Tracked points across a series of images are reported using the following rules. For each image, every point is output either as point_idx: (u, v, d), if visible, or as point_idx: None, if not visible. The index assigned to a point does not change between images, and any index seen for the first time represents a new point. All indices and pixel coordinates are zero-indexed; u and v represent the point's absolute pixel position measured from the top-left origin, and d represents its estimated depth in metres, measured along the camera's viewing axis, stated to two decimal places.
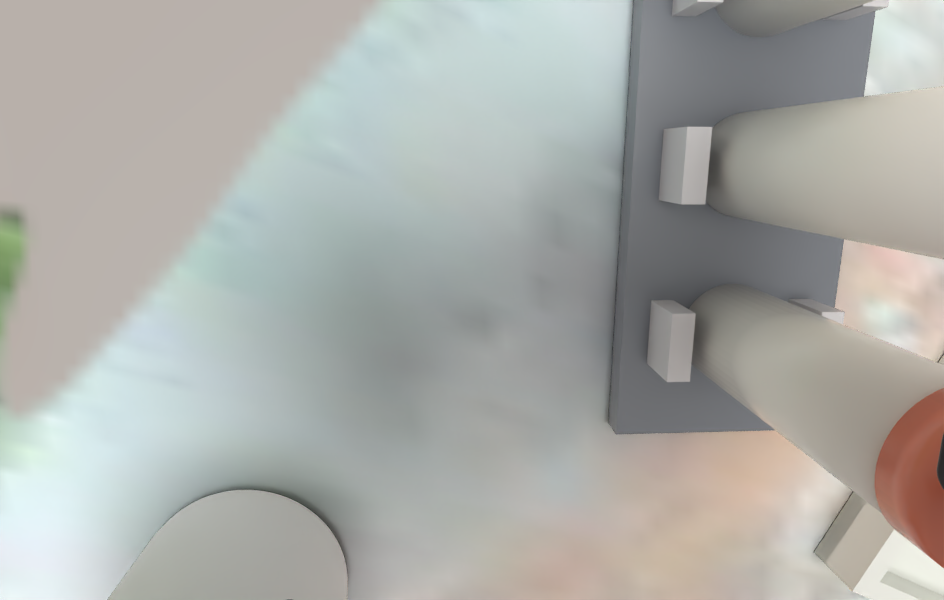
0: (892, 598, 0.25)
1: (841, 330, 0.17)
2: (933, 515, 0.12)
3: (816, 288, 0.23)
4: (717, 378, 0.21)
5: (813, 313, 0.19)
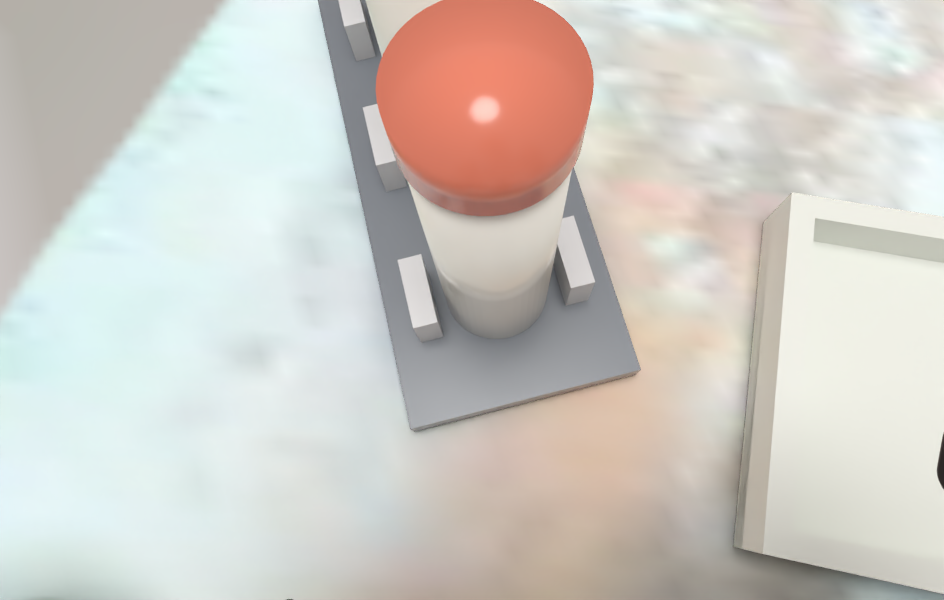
0: (825, 553, 0.18)
1: None
2: (383, 113, 0.11)
3: None
4: (451, 300, 0.20)
5: None
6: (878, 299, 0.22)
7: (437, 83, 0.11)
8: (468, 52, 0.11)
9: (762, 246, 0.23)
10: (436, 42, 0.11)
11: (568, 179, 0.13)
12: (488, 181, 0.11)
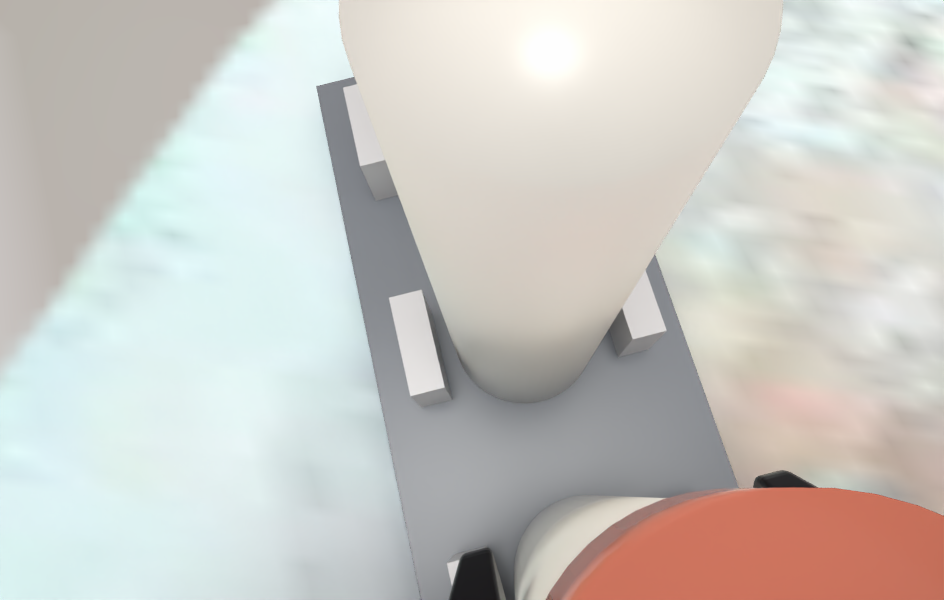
0: None
1: (600, 502, 0.09)
2: None
3: (698, 472, 0.15)
4: None
5: (610, 496, 0.11)
6: None
7: None
8: None
9: None
10: None
11: None
12: None
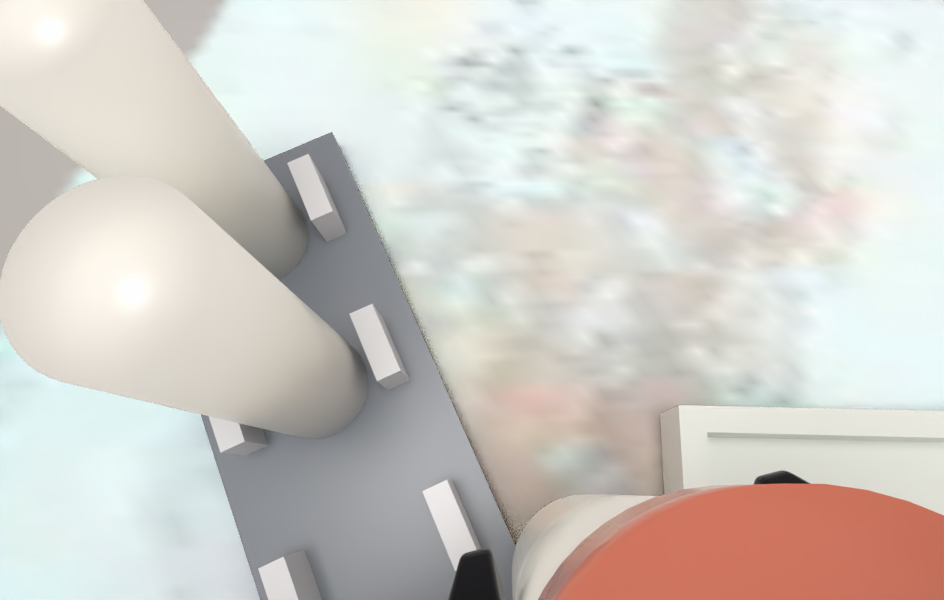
0: None
1: (596, 500, 0.09)
2: None
3: (453, 466, 0.21)
4: None
5: None
6: None
7: None
8: None
9: (662, 444, 0.22)
10: None
11: None
12: None
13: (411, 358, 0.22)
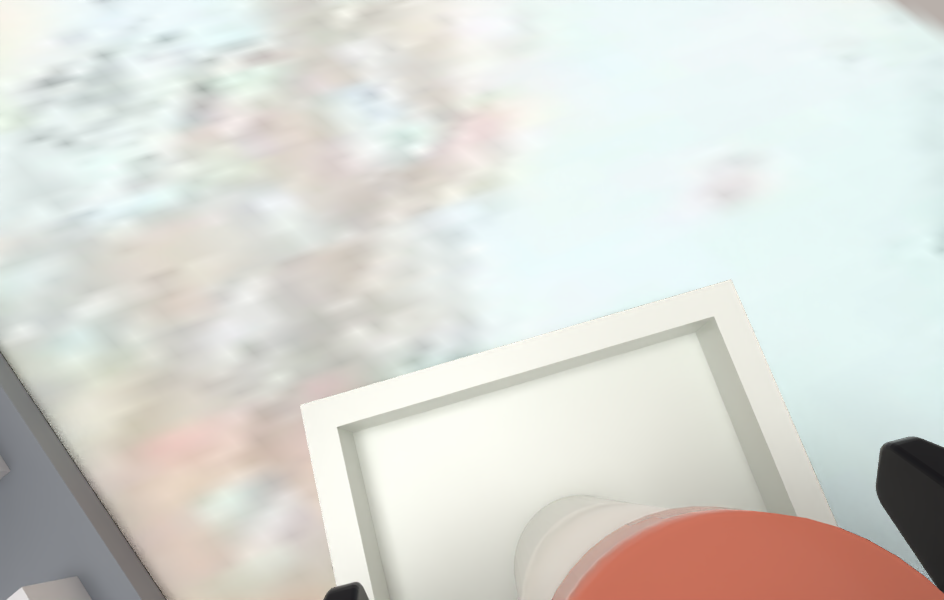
0: None
1: (594, 508, 0.11)
2: None
3: (76, 558, 0.17)
4: None
5: (603, 500, 0.13)
6: (473, 465, 0.17)
7: None
8: None
9: None
10: None
11: None
12: None
13: (8, 443, 0.18)
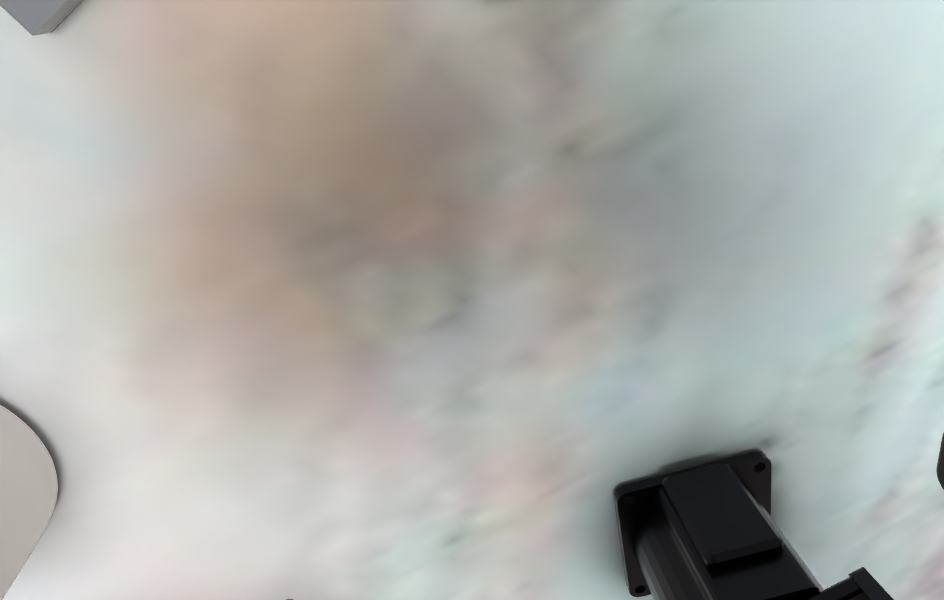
0: None
1: None
2: None
3: None
4: None
5: None
6: None
7: None
8: None
9: None
10: None
11: None
12: None
13: None
